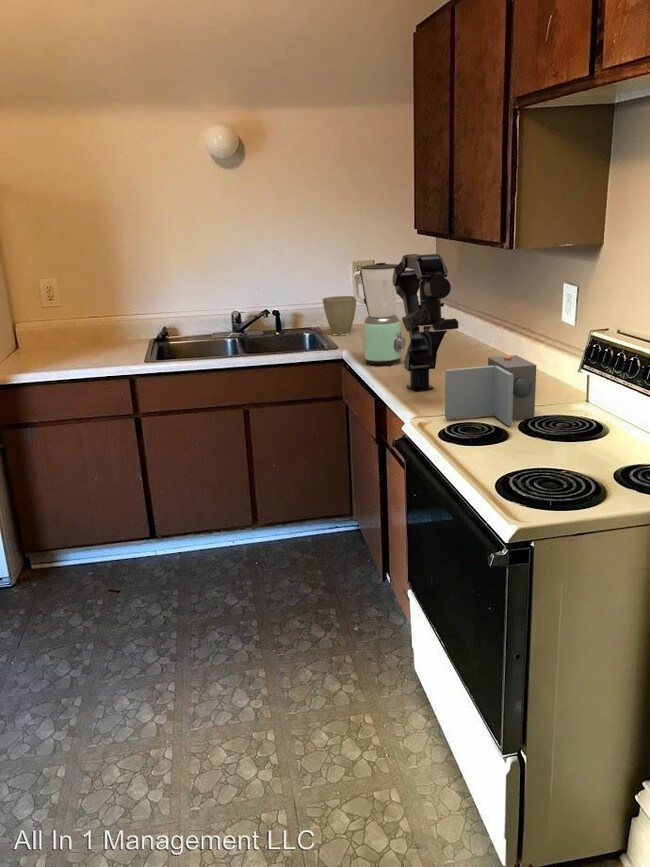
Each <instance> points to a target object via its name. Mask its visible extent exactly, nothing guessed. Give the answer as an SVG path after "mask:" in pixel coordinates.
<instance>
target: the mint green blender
mask: <svg viewBox="0 0 650 867" xmlns="http://www.w3.org/2000/svg"><path fill="white" fill-rule="evenodd" d="M397 265H398V264H395V263H391V264H390V263H387V262H377V263H375V264H368V265H362V266H361V267H360V270H359V271H355V272H354V273H353V276H352V293H353V296H354V298H355V299H356V302H358V303H359V304H364V305H365V306H366V311H367V315H368V316H366V317H365V319H364V322H363V345H364V346H363V347H364V348H363V349H364V360H365V364H366V363H367V364H371V363H372V364H373V365H385V367H391V366H392V364H394V363H398V361H399V362H400V361H401V359H402V351H403V350H404V349H405V348H406V341H407V340H406V338H405V337H403V336H402V333H401V320H400V318H399V317H398V316H397V315H396V314H395V312H396V304H397V296H398V294H397V293H396V289H395V286H393V273H394V269H395V267H396V266H397ZM359 276H360V278H361V283H362V292H363V298H362V297H361V295H360V290H359Z"/></svg>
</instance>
